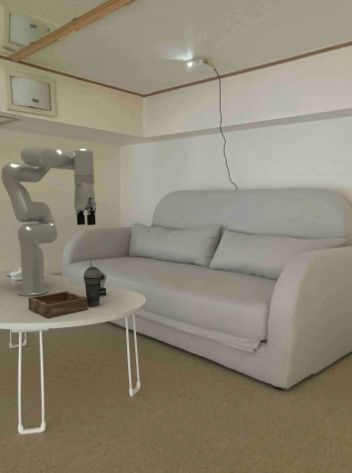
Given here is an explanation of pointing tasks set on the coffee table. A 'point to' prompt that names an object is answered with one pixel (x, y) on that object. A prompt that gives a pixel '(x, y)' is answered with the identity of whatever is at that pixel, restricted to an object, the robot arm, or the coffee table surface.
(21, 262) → the robot arm
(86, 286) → the beverage cup
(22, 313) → the coffee table surface
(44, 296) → the walnut tray
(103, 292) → the watch
